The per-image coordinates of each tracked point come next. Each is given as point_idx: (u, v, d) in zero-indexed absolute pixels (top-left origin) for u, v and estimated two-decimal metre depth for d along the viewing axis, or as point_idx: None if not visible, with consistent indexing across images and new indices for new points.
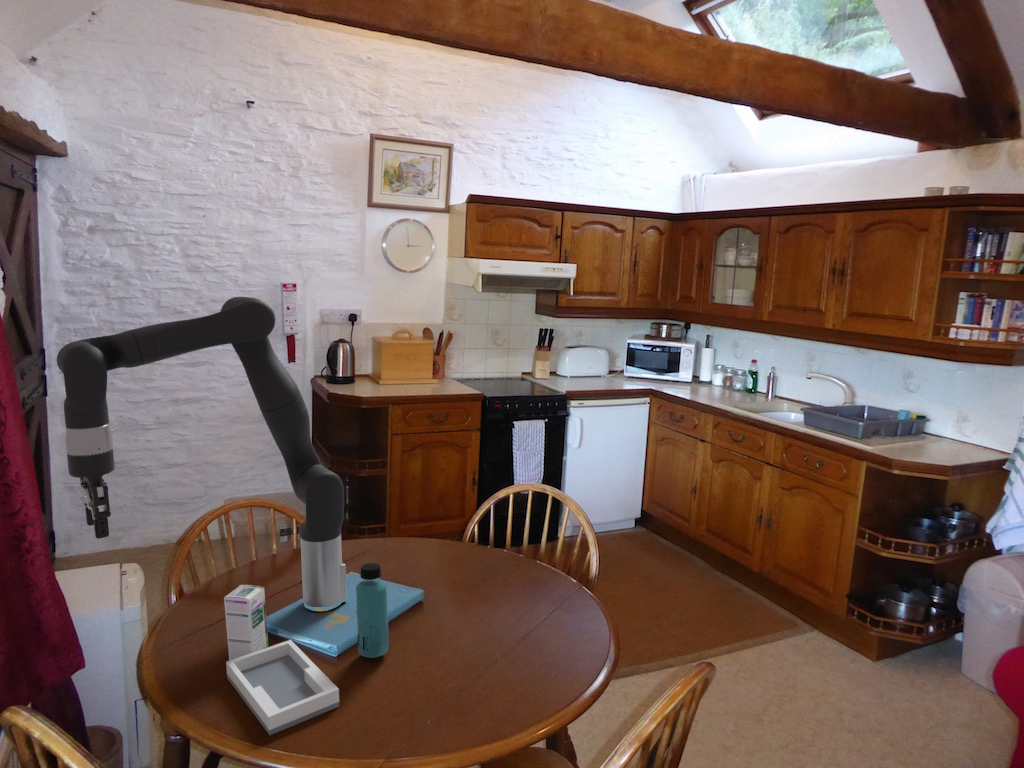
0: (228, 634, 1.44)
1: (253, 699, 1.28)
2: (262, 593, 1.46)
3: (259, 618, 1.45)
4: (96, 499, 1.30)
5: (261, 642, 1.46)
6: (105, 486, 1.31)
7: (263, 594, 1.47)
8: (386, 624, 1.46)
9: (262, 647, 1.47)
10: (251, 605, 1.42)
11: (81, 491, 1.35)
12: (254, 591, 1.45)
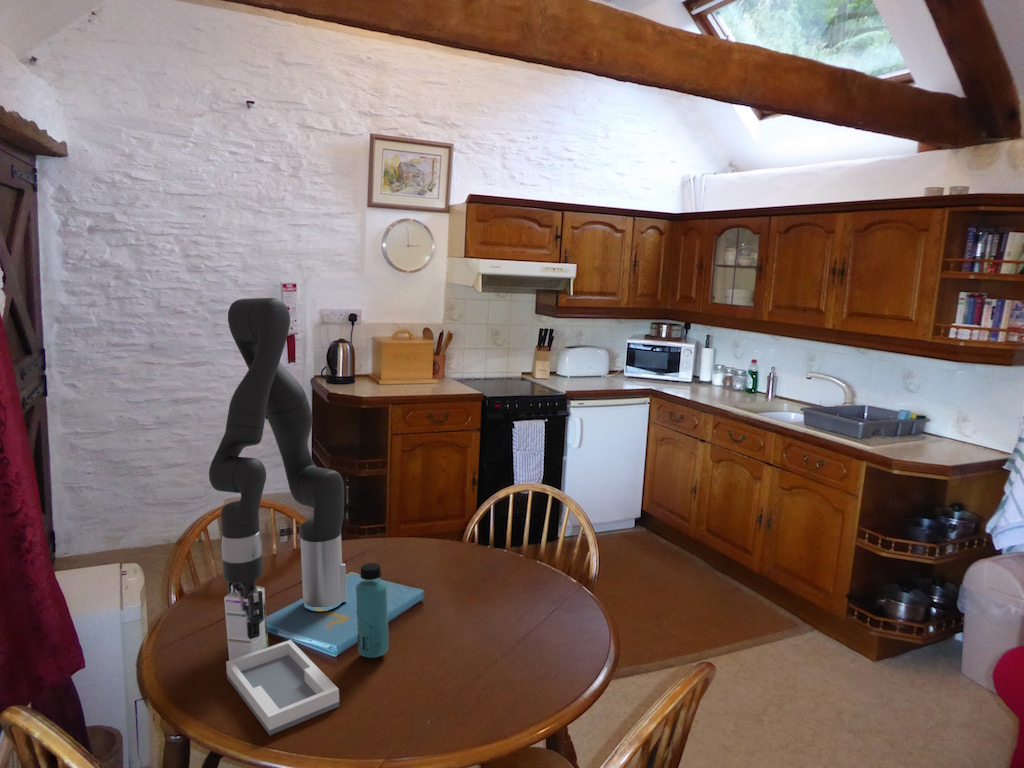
0: (228, 634, 1.44)
1: (253, 699, 1.28)
2: (262, 593, 1.46)
3: None
4: (252, 605, 1.39)
5: (261, 643, 1.46)
6: (260, 592, 1.40)
7: (263, 594, 1.47)
8: (386, 624, 1.46)
9: (262, 647, 1.47)
10: None
11: None
12: None
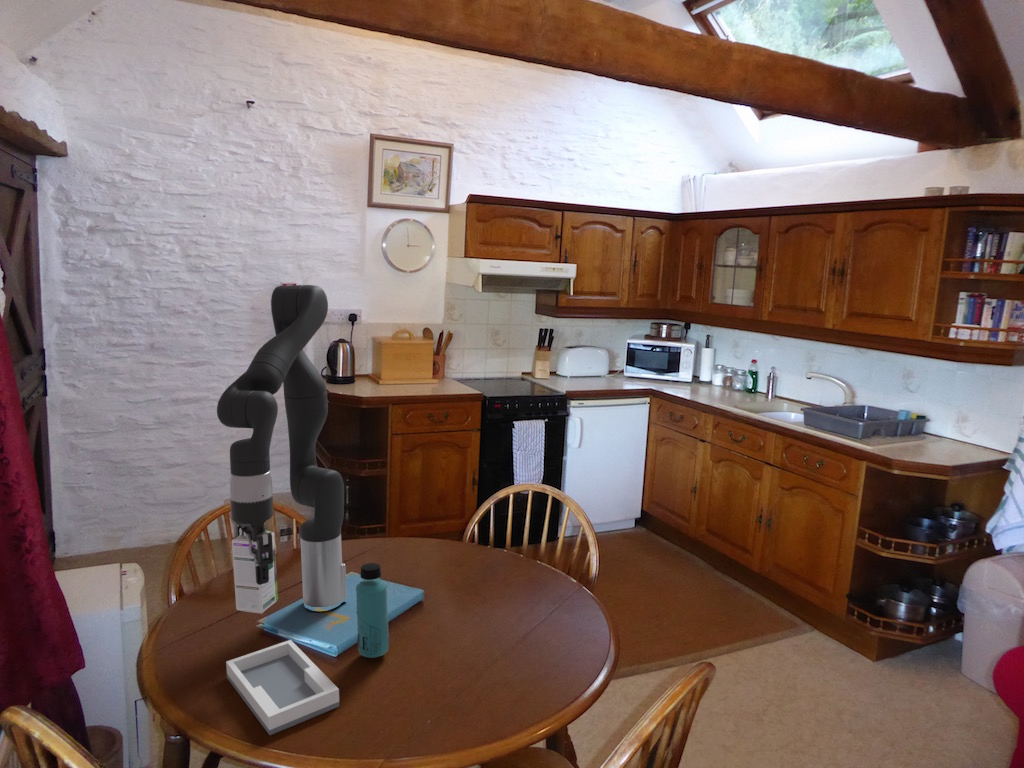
0: (235, 580, 1.36)
1: (253, 699, 1.28)
2: (272, 538, 1.38)
3: (269, 564, 1.37)
4: (261, 547, 1.31)
5: (270, 590, 1.38)
6: (269, 534, 1.32)
7: (273, 539, 1.39)
8: (386, 624, 1.46)
9: (271, 595, 1.38)
10: None
11: None
12: None
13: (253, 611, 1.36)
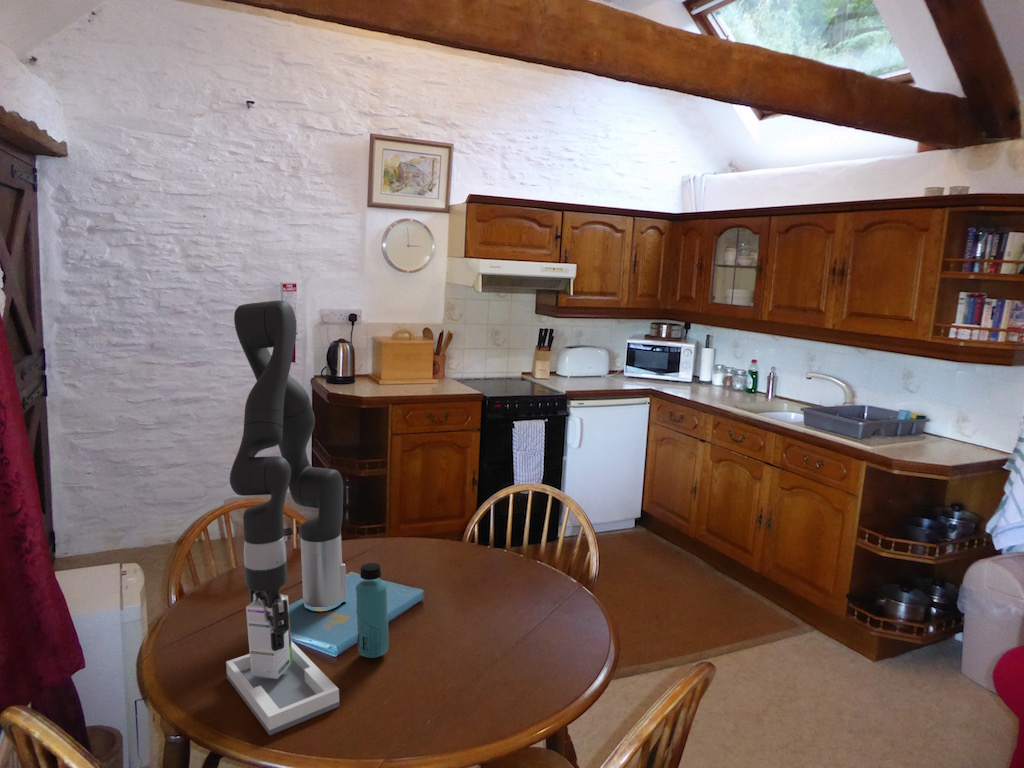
0: (250, 646, 1.35)
1: (253, 699, 1.28)
2: None
3: None
4: (277, 615, 1.30)
5: (285, 655, 1.37)
6: (285, 601, 1.31)
7: (287, 603, 1.38)
8: (386, 624, 1.46)
9: (286, 659, 1.38)
10: None
11: None
12: None
13: (268, 676, 1.35)
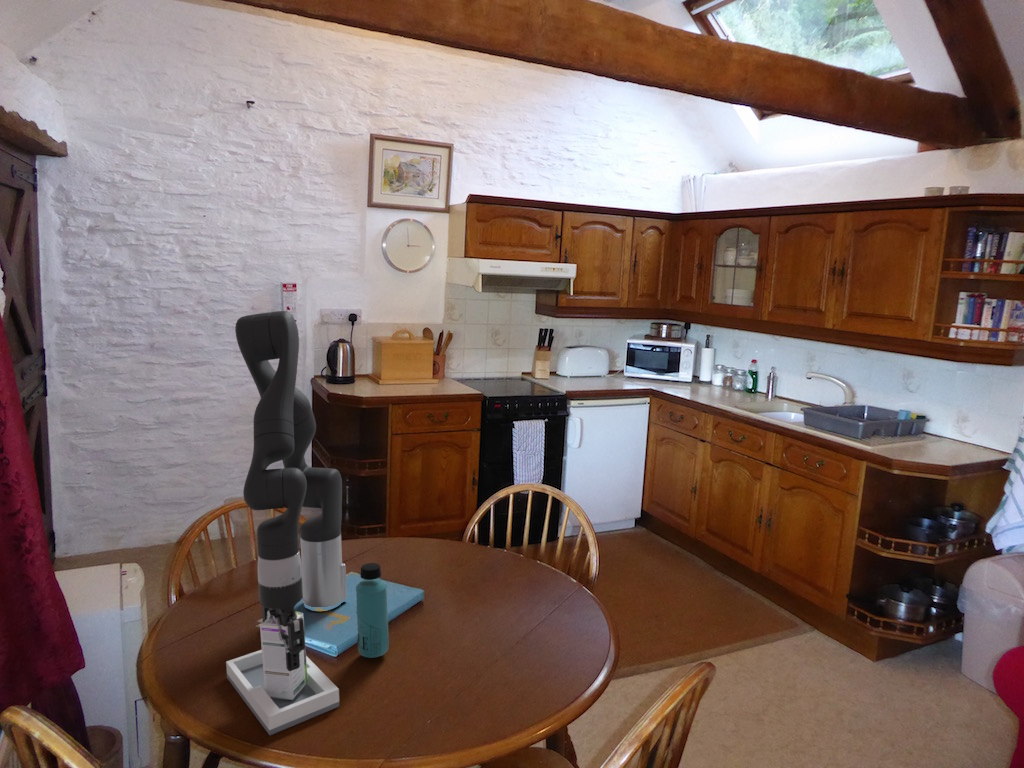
0: (264, 665, 1.30)
1: (253, 699, 1.28)
2: None
3: None
4: (293, 634, 1.25)
5: (300, 674, 1.32)
6: (301, 619, 1.26)
7: None
8: (386, 624, 1.46)
9: (301, 679, 1.32)
10: None
11: None
12: None
13: (283, 697, 1.30)
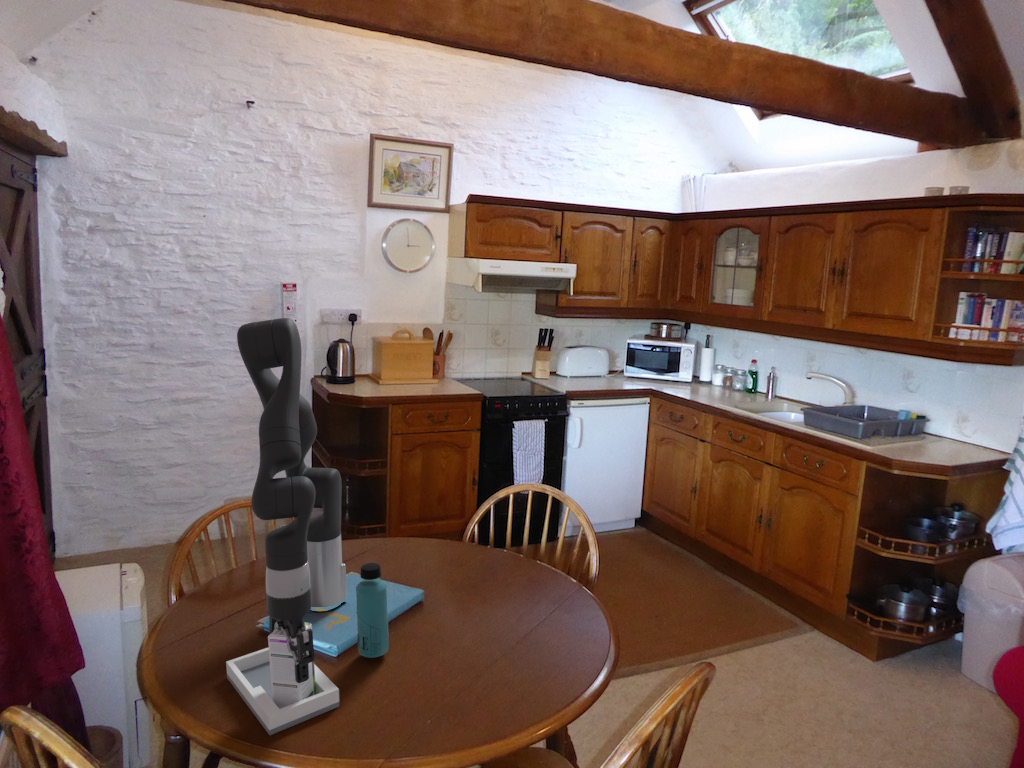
0: (272, 677, 1.27)
1: (253, 699, 1.28)
2: None
3: None
4: (302, 645, 1.22)
5: (309, 686, 1.30)
6: (310, 630, 1.23)
7: None
8: (386, 624, 1.46)
9: (309, 691, 1.30)
10: None
11: None
12: None
13: None
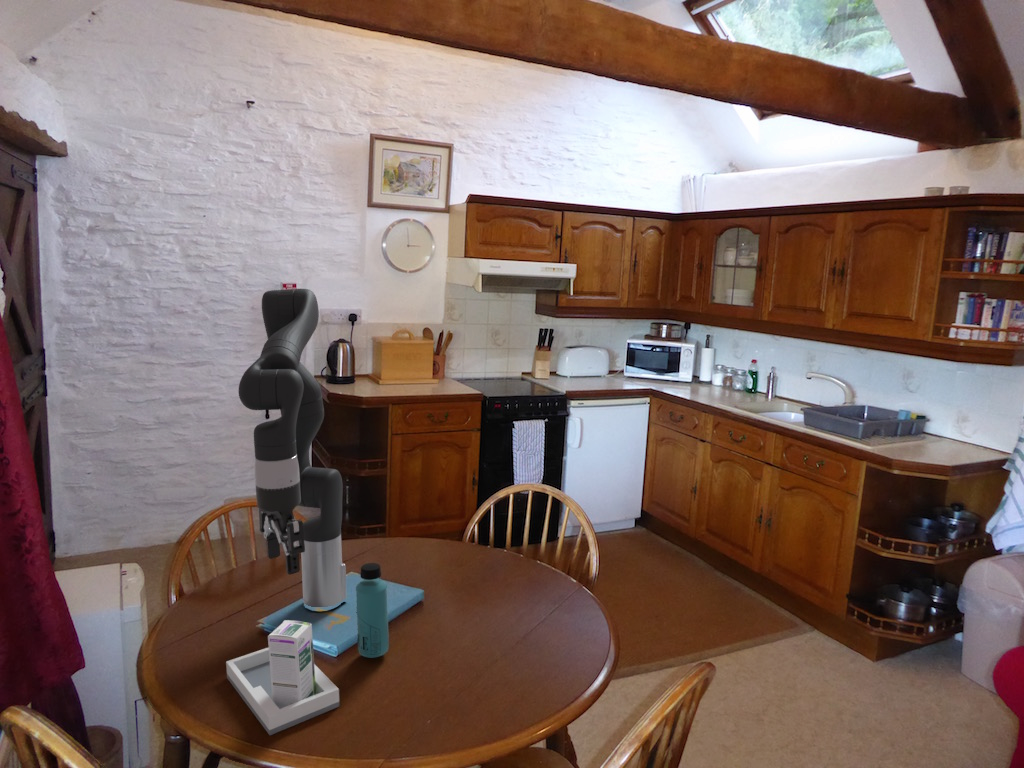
0: (272, 677, 1.27)
1: (253, 699, 1.28)
2: (309, 630, 1.30)
3: (307, 658, 1.29)
4: (292, 535, 1.23)
5: (309, 686, 1.30)
6: (300, 520, 1.24)
7: (310, 631, 1.30)
8: (386, 624, 1.46)
9: (309, 691, 1.30)
10: (298, 645, 1.26)
11: (267, 524, 1.29)
12: (301, 628, 1.28)
13: None
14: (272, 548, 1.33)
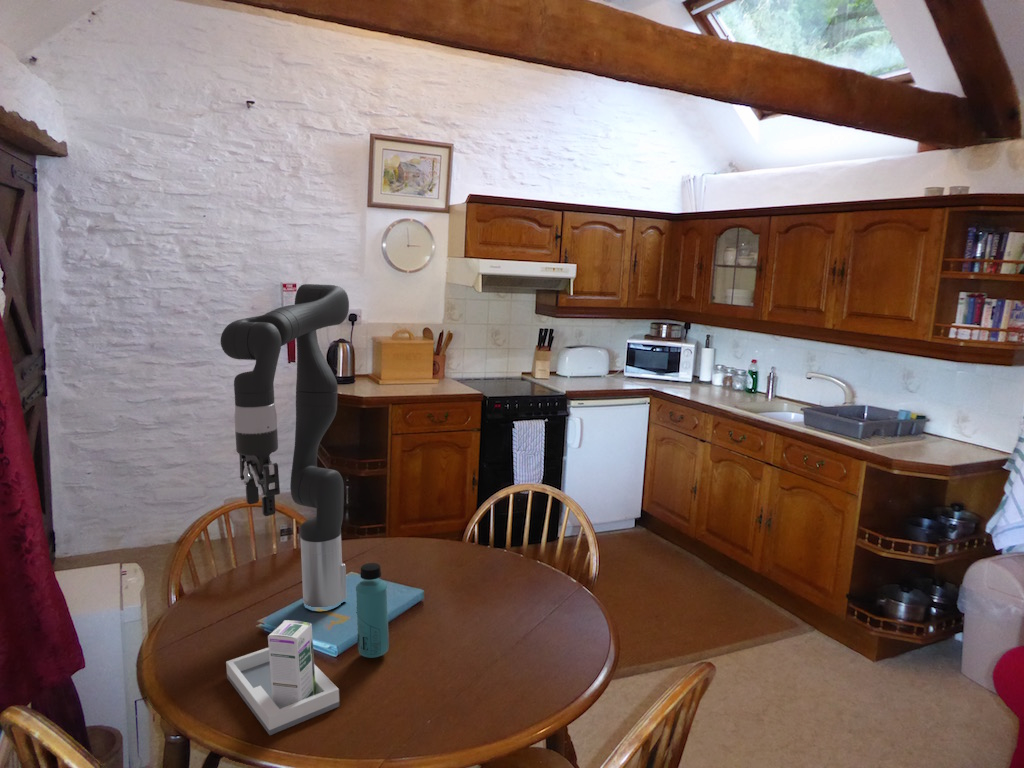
0: (272, 677, 1.27)
1: (253, 699, 1.28)
2: (309, 630, 1.30)
3: (307, 658, 1.29)
4: (268, 477, 1.31)
5: (309, 686, 1.30)
6: (275, 464, 1.32)
7: (310, 631, 1.30)
8: (386, 624, 1.46)
9: (309, 691, 1.30)
10: (298, 645, 1.26)
11: (246, 470, 1.37)
12: (301, 628, 1.28)
13: None
14: (251, 494, 1.41)
